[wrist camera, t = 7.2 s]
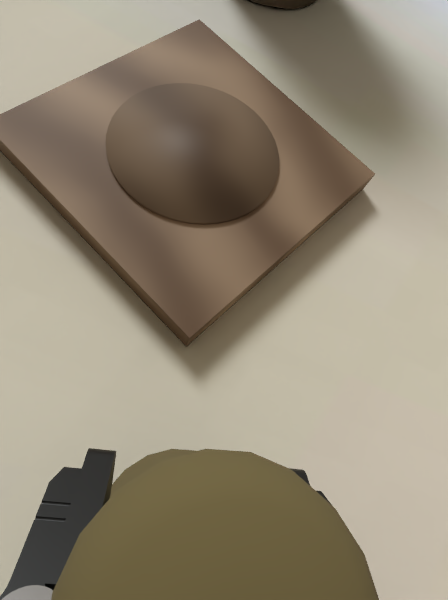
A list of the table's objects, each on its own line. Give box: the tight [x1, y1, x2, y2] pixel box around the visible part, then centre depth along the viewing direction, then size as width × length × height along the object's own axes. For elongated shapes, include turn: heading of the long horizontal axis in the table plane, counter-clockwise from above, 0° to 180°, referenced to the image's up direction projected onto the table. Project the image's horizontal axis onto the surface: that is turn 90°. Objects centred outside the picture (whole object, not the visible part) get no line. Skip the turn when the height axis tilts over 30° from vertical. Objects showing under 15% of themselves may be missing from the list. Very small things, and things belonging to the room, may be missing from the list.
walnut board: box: [0, 20, 375, 346], centre depth 25 cm, size 16×16×2 cm
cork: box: [51, 449, 379, 600], centre depth 10 cm, size 6×6×11 cm
